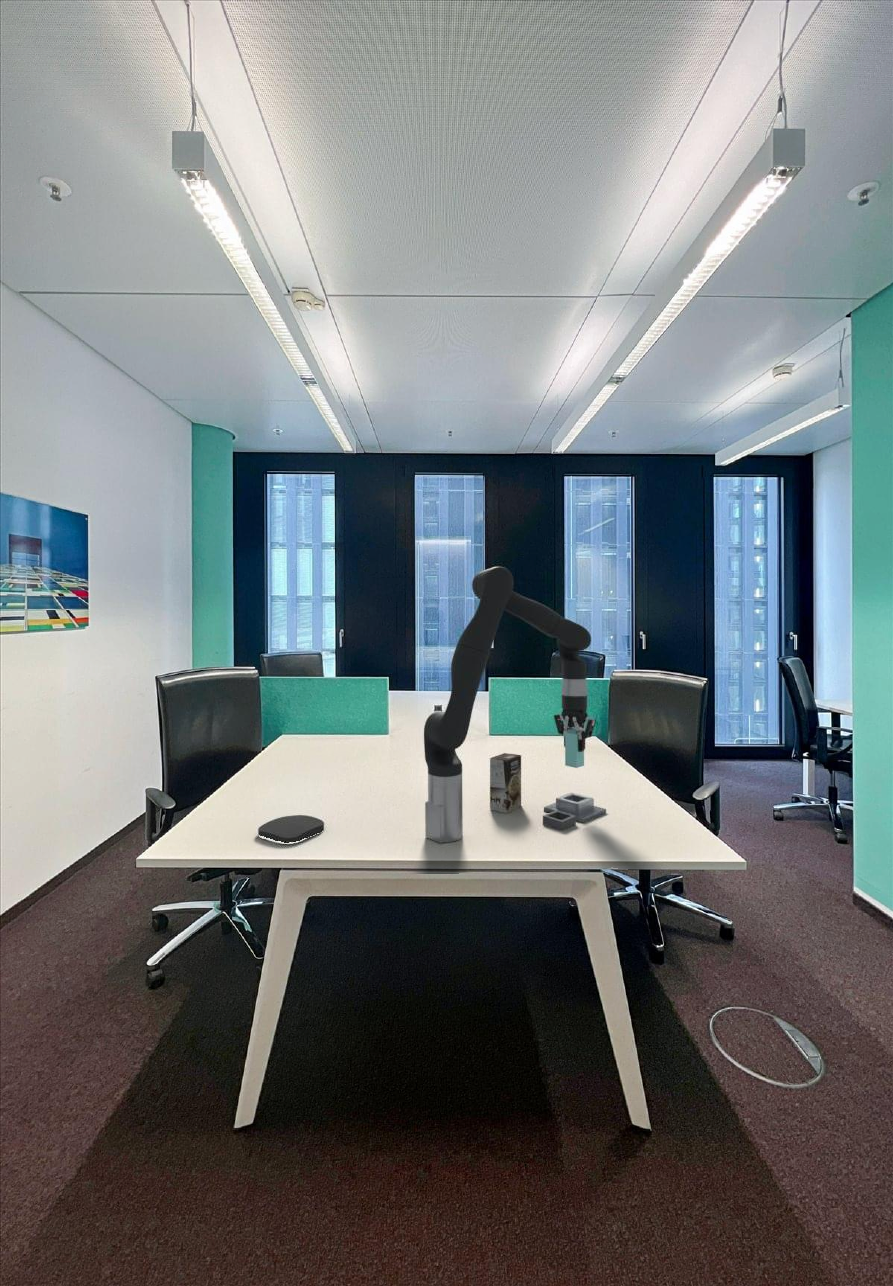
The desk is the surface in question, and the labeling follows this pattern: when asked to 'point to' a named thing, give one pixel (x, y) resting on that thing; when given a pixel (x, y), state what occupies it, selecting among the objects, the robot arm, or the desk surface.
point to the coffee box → (505, 782)
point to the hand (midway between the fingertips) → (574, 750)
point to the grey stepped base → (576, 807)
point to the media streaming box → (291, 828)
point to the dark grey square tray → (559, 820)
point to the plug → (573, 750)
